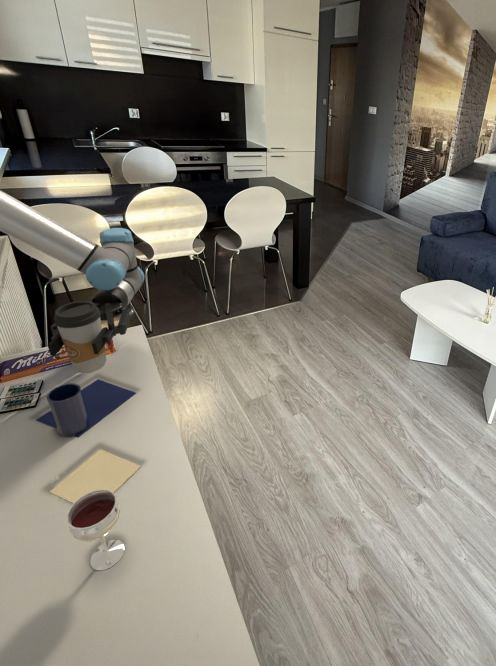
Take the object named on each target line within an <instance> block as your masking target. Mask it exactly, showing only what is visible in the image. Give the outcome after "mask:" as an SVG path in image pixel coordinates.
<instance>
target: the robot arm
mask: <svg viewBox="0 0 496 666" xmlns="http://www.w3.org/2000/svg"><path fill="white" fill-rule="evenodd" d="M0 232H2V233H3V234H6V235H8V236H10V237H11V238H13V239H15V240H18V241H19V242H21V243H23V244H25V245H27V246H29V247H31V248H33V249H35V250H37V251H39V252H41V253H43V254H45V255H47V256H48V257H51V258H53V259H54V260H57V261H59V262H61V263H62V264H65V265H66V266H69V267H71V268H73V269H74V270H76V271H78V272H80V273H82V274H83V275H85V279H86V282H88V284H89V285H90V286H91V287H93V288H94V289H96V290H98V291H97V292H96V294H95V295H94V296H93V297H92V299H91V301H90V302H93V303H94V304H95V305H96V306H97V307H98V308H99V311H100V314H101V315H100V320H101V321H102V322H103V321H107V327H102V330H101V332H100V333H99V334H98V336H97V337H96V339H95V340H94V341H93V343H92V347H93V351H94V354H99V352H100V351H101V349H102V348H103V346H104V345H105V346H106V344H108V343H110V342H111V341H112V340H113V339H114V337H115V336H117V335H118V334H119V335H120V336H123V335H125V334H126V333H127V330H128V327H129V324H130V320H131V319H132V317H134V316H135V312H134V306H133V305H129V304H130V302H132V300H133V298H134V297H135V295H136V294H137V292H138V291H139V290H140V289H141V288H142V286H143V284H144V282H145V273H144V271H143V270H142V269H141V267H139V266H138V262H137V255H136V249H135V244H134V243H135V240H134V238H133V235H132V232H131V230H129V229H127V228H124V227H112V228H106V229H103V230H102V231H100V232H99V244H100V245H98V244H97V243H95V242H93V241H92V240H90V239H88V238H86V237H85V236H83V235H81V234H80V233H77V232H76V231H74V230H73V229H70V228H68V227H67V226H65V225H63V224H62V223H60V222H58V221H56V220H54V219H53V218H52V217H49V216H47V215H45V214H44V213H42V212H40V211H38V210H37V209H35V208H33V207H31V206H29V205H27V204H26V203H24V202H22V201H21V200H19V199H17V198H15V197H14V196H11V195H10V194H8V193H6V192H5V191H3V190H1V189H0ZM119 316H120V318H119V321H118V323H117V325H115V319H116V318H117V317H119ZM50 330H51V334H52V336H51V338H50V339H51V341H49V342H48V344H47V348H48V351H49V354H50V356H51V357H53V356H54V357H55V356H56V355H57V354H58V353H59V352H60V350H61V349H62V348H63V347H64V344H63V341H62V337H61V335H60V332H59V330H58V327H57V326H56V325H55V322H54V323H52V324H51V325H50Z"/></svg>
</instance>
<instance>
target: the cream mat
mask: <svg viewBox="0 0 496 666" xmlns="http://www.w3.org/2000/svg"><path fill="white" fill-rule="evenodd" d="M140 468H142V466H141V465H139V464H138V463H135V462H132V461H130V460H127V459H125V458H123V457H120V456H118V455H115V454H114V453H110V452H108V451H105V450H103V449H99V450H98V451H97V452H96V453H94V454H93V455H92V456H91V457H90V458H88V459H87V460H86V461H85V462H83V463H82V464H81V465H80V466H79V467H78V468H76V469H75V470H73V472H71V473H70V474H69V475H68V476H67V477H65V478H64V479H63V480H62V481H60V482H59V483H57V485H56V486H54V487H53V489H51V490H49V493H51V494H53V495H55V496H57V497H59V498H61V499H63V500H65V501H67V502H69V503H72V504H74V503H75V502H76V501H77V500H78V499H79V498H81V497H82V496H84V495H85V494H87V493H90V492H92V491H95V490H101V489H104V490H110V491H112V492H114V493H116V492H117V491H118V490H119V489H120V488H121V487H122V486H123V485H124V484H125V483H126V482H127V481H128V480H129V479H130V478H131V477H132V476H133V475H134V474H136V472H137V471H138V470H139V469H140Z"/></svg>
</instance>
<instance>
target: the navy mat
mask: <svg viewBox="0 0 496 666" xmlns="http://www.w3.org/2000/svg"><path fill="white" fill-rule="evenodd" d="M81 390H82V394H83V397H84V400H85V404H86V407H87V411H88V414H89V417H90V425H89V427H88V428H87V429H86V430H85V431H83V432H82V433H80V434H78V435H75V436H74V437H75V438H78V439H79V438H80V437H81V436H82V435H84V434H85V433H87V432H89V430H91V429H93V428H94V427H95V426H96V425H97V424H98V423H100V422H101V421H102V420H103V419H106V417H107V416H109V415H110V414H112V413H113V412H114V411H115V410H117V409H118V408H119V407H120V406H122V405H123V404H125V403H126V402H127V401H128V400H130V399H131V398H132V397H134V396H135V395H136V394H137V392H135V391H133V390H130V389H127V388H124V387H122V386H119V385H116V384H113V383H110V382H107V381H104V380H101V379H98V378H97V379H96V380H94V381H92V382H91V383H90V384H88V385H87V386H85V387H83V388H81ZM35 421H36V422H39V423H41V424H44V425H46V426H49V427H51V428H52V429H56V430H57V427H56V424H55V421H54V418H53V415H52V412H51V410H48V411H47V412H45V413H44V414H42V415H41V416H39V417H38V418H36V419H35Z"/></svg>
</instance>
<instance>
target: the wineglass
mask: <svg viewBox="0 0 496 666" xmlns="http://www.w3.org/2000/svg"><path fill="white" fill-rule="evenodd" d="M120 513H121V508H120V503H119V502H118V499H117V495H116V494H115V492H112V491H110V490H104V489H101V490H95V491H92V492H90V493H87V494H85V495H84V496H82V497H81V498H79V499H78V500H77V501H76V502H75V503H72V505H71V506H70V507H69V509H68V510H67V513H66V515H65V516H66V517H65V518H66V524H67V525H68V530H69V532H70V534H71V535H72V537H73V538H74V539H76V540H78V541H80V542H92V541H96V540H99V541H100V543H101V544H100V545H99V546H97V548H96V549H95V550H94V551H93V552H92V553H91V556H90V560H89V563H90V564H89V565H90V567H91V568H92V569H93V570H95V571H105V570H108V569H110V568H112V567H113V566H114V565H116V564H117V563H118V562H119V561H120V560H121V559H122V557H123V555H124V553H125V544H124V542H123V541H122V540H120V539H111V540H107V541H106V538H105V536H106V535H107V534H108V533H110V532H111V531H112V529H114V527H115V526H116V524H117V523H118V520H119V517H120Z"/></svg>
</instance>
